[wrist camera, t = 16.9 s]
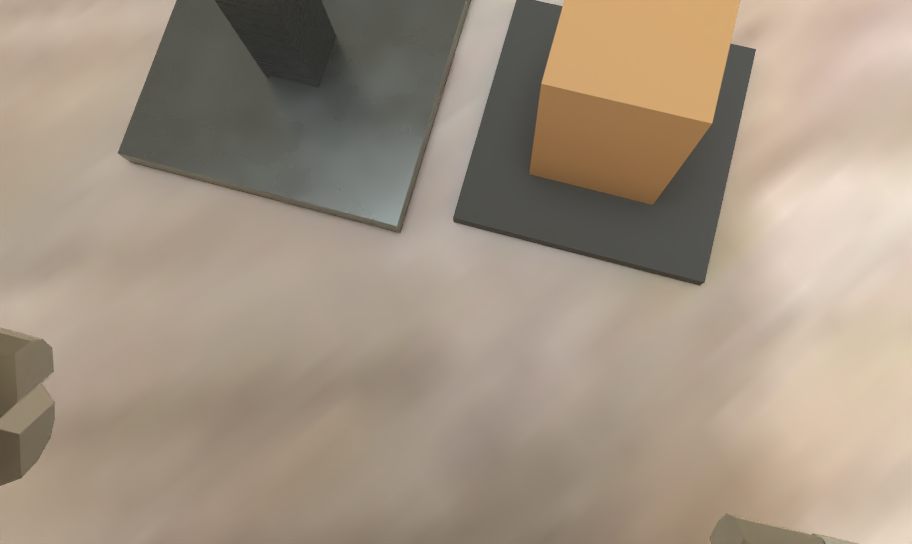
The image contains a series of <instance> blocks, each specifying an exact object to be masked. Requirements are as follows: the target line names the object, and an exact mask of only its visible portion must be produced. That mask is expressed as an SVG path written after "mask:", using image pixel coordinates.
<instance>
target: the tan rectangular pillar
mask: <svg viewBox="0 0 912 544" xmlns="http://www.w3.org/2000/svg"><path fill="white" fill-rule="evenodd" d="M739 4H740V0H564V3H563V7H562V11H561V14H560V18H559V22H558V25H557V29H556V32H555V36H554V40H553V43H552V47H551V50H550V54H549V58H548V61H547V65H546V69H545V72H544V76H543V79H542V83H541V90H540V97H539V104H538V112H537V119H536V127H535V134H534V142H533V149H532V156H531V164H530V171H529V174H530V175H534V176H538V177H542V178H546V179H550V180H554V181H558V182H562V183H566V184H570V185H574V186H578V187H582V188H586V189H591V190H595V191H599V192H603V193H607V194H611V195H615V196H619V197H623V198H627V199H631V200H635V201H639V202H643V203H647V204H651V205H653V204H654V203H655V201H656V200H657V199H658V197H659V196H660V194H661V193H662V192H663V190H664V189H665V188H666V186H667V185H668V183H669V182H670V181H671V179H672V178H673V177H674V175H675V174H676V173H677V171H678V170H679V168H680V167H681V166H682V164H683V163H684V162H685V160H686V159H687V157H688V156H689V155H690V153H691V152H692V151H693V149H694V148H695V146H696V145H697V144H698V142H699V141H700V140H701V138H702V137H703V136H704V134H705V133H706V131H707V130H708V129H709V127H710V126H711V125H712V122H713V118H714V113H715V109H716V105H717V100H718V96H719V91H720V87H721V83H722V78H723V74H724V70H725V65H726V61H727V56H728V52H729V48H730V43H731V39H732V34H733V30H734V26H735V21H736V17H737V12H738V8H739Z"/></svg>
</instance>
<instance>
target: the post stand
mask: <svg viewBox="0 0 912 544" xmlns="http://www.w3.org/2000/svg"><path fill="white" fill-rule="evenodd" d="M470 1H471V0H177V1H176V4H175V6H174V9H173V11H172V14H171V17H170V19H169V22H168V24H167V27H166V29H165V32H164V35H163V37H162V40H161V42H160V45H159V48H158V50H157V53H156V55H155V58H154V61H153V63H152V66H151V68H150V71H149V74H148V76H147V79H146V81H145V84H144V87H143V89H142V92H141V94H140V97H139V100H138V102H137V105H136V107H135V110H134V113H133V115H132V118H131V120H130V123H129V126H128V128H127V131H126V133H125V136H124V138H123V141H122V144H121V146H120V149H119V151H118V154H120V155H121V156H122V157H124V158H125V159H127V160H128V161H130V162H133V163H137V164H140V165H144V166H148V167H152V168H156V169H160V170H163V171H167V172H171V173H175V174H179V175H183V176H186V177H190V178H194V179H198V180H202V181H205V182H209V183H213V184H217V185H221V186H225V187H228V188H232V189H236V190H240V191H244V192H247V193H251V194H255V195H259V196H263V197H267V198H270V199H274V200H278V201H282V202H286V203H289V204H293V205H297V206H301V207H305V208H309V209H312V210H316V211H320V212H324V213H328V214H331V215H335V216H339V217H343V218H347V219H351V220H354V221H358V222H362V223H366V224H370V225H373V226H377V227H381V228H385V229H389V230H393V231H396V232H400V231H401V228H402V225H403V221H404V218H405V215H406V212H407V208H408V205H409V202H410V198H411V195H412V192H413V188H414V185H415V182H416V179H417V175H418V172H419V169H420V165H421V162H422V159H423V156H424V152H425V149H426V146H427V142H428V139H429V136H430V132H431V129H432V126H433V123H434V119H435V116H436V113H437V109H438V106H439V103H440V100H441V96H442V93H443V90H444V86H445V83H446V80H447V76H448V73H449V70H450V67H451V63H452V60H453V57H454V53H455V50H456V47H457V44H458V40H459V37H460V34H461V30H462V27H463V24H464V20H465V17H466V14H467V11H468V7H469V4H470Z"/></svg>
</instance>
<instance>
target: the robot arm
mask: <svg viewBox="0 0 912 544" xmlns="http://www.w3.org/2000/svg"><path fill="white" fill-rule="evenodd" d="M53 372H54V368H53V354H52V347H51V346H50V345H49V344H47V343H46V342H45V341H44V340H43V339H40V338H36V337H33V336H29V335H25V334H22V333H18V332H15V331H11V330H7V329H4V328H0V486H1V485H4V484H6V483H9V482H12V481H14V480H17V479H20V478H22V477H23V476H24V475H25V474H26V472H27V471H28V470H29V469H30V468H31V467H32V466H33V465H34V464H35V463H36V462H37V461H38V459H39V458H40V456H41V454H42V452H43V450H44V449H45V447H46V445H47V443H48V441H49V439H50V437H51V433H52V428H53V424H54V420H55V402H54V401H53V399H52V398H51V396H50V395H49V393H48V392H47V390H46V389H45V387H44V386H43V385H42V383H43V382H44V381H45V380H46V379H47V378H48V377H49V376H50V375H51V374H52V373H53ZM710 542H711V544H858V543H854V542H849V541H845V540H841V539H836V538H832V537H827V536H823V535H818V534H808V533H804V532H800V531H796V530H792V529H788V528H784V527H780V526H776V525H772V524H768V523H763V522H759V521H755V520H751V519H747V518H743V517H739V516H735V515H731V514H727V513H726V514H725V515H724V516H723V517H722V518H721V519H720V520H719V521H718V523H717V525H716V527H715V529H714V530H713V532H712V534H711V536H710Z"/></svg>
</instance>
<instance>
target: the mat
mask: <svg viewBox="0 0 912 544" xmlns="http://www.w3.org/2000/svg"><path fill="white" fill-rule="evenodd" d="M562 7H563V6H558V5H554V4H549V3H545V2H540V1H536V0H516V4H515V7H514V11H513V14H512V18H511V21H510V25H509V28H508V31H507V35H506V38H505V42H504V45H503V49H502V52H501V55H500V59H499V62H498V66H497V69H496V73H495V76H494V80H493V83H492V86H491V90H490V93H489V97H488V100H487V104H486V107H485V110H484V114H483V117H482V121H481V124H480V128H479V131H478V135H477V138H476V141H475V145H474V148H473V152H472V155H471V159H470V162H469V165H468V169H467V172H466V176H465V179H464V183H463V186H462V190H461V193H460V196H459V200H458V203H457V207H456V210H455V214H454V217H453V218H454V222H457V223H461V224H465V225H469V226H473V227H477V228H481V229H484V230H488V231H492V232H496V233H500V234H504V235H508V236H512V237H515V238H519V239H523V240H527V241H531V242H535V243H539V244H543V245H546V246H550V247H554V248H558V249H562V250H566V251H570V252H574V253H577V254H581V255H585V256H589V257H593V258H597V259H601V260H605V261H608V262H612V263H616V264H620V265H624V266H628V267H632V268H636V269H639V270H643V271H647V272H651V273H655V274H659V275H663V276H667V277H670V278H674V279H678V280H682V281H686V282H690V283H694V284H698V285H701V284H702V283H704V281H705V277H706V272H707V268H708V263H709V259H710V254H711V250H712V245H713V241H714V236H715V232H716V227H717V223H718V218H719V214H720V209H721V204H722V200H723V195H724V191H725V186H726V182H727V177H728V173H729V168H730V164H731V159H732V155H733V150H734V146H735V141H736V137H737V132H738V128H739V123H740V119H741V114H742V110H743V105H744V101H745V96H746V91H747V87H748V82H749V78H750V73H751V69H752V64H753V60H754V55H755V51H756V49H752V48H747V47H743V46H738V45H734V44H730V48H729V52H728V56H727V61H726V65H725V70H724V74H723V78H722V83H721V87H720V91H719V96H718V100H717V105H716V109H715V113H714V118H713V122H712V125H711V126H710V127H709V129H708V130H707V131H706V133H705V134H704V136H703V137H702V138H701V140H700V141H699V142H698V144H697V145H696V146H695V148H694V149H693V151H692V152H691V153H690V155H689V156H688V157H687V159H686V160H685V162H684V163H683V164H682V166H681V167H680V168H679V170H678V171H677V173H676V174H675V175H674V177H673V178H672V179H671V181H670V182H669V183H668V185H667V186H666V188H665V189H664V190H663V192H662V193H661V194H660V196H659V197H658V199H657V200H656V201H655V203H654V204H653V205H651V204H647V203H643V202H639V201H635V200H631V199H627V198H623V197H619V196H615V195H611V194H607V193H603V192H599V191H595V190H591V189H586V188H582V187H578V186H574V185H570V184H566V183H562V182H558V181H554V180H550V179H546V178H542V177H538V176H534V175H530V174H529V171H530V164H531V156H532V149H533V142H534V134H535V127H536V119H537V112H538V104H539V97H540V90H541V83H542V79H543V76H544V72H545V69H546V65H547V61H548V58H549V54H550V50H551V47H552V43H553V40H554V36H555V32H556V29H557V25H558V22H559V18H560V14H561V11H562Z"/></svg>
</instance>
